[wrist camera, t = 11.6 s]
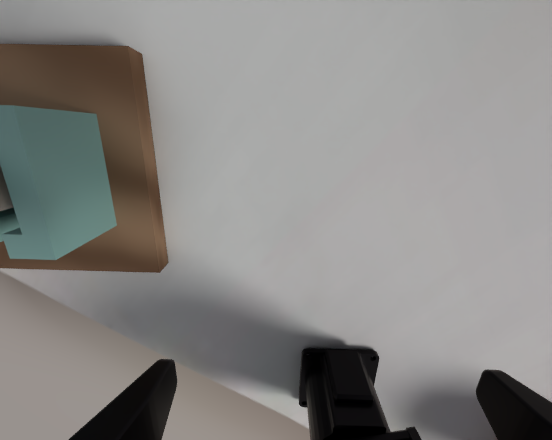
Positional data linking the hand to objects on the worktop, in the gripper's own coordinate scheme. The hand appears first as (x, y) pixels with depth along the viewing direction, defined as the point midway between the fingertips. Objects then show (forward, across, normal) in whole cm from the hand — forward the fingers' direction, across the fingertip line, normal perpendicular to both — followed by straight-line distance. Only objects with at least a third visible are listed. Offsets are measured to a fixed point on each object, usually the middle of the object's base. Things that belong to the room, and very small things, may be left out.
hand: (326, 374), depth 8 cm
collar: (+10, +16, -4) cm, 19 cm away
